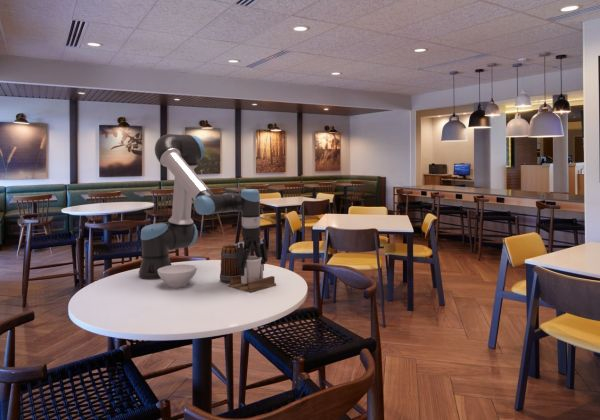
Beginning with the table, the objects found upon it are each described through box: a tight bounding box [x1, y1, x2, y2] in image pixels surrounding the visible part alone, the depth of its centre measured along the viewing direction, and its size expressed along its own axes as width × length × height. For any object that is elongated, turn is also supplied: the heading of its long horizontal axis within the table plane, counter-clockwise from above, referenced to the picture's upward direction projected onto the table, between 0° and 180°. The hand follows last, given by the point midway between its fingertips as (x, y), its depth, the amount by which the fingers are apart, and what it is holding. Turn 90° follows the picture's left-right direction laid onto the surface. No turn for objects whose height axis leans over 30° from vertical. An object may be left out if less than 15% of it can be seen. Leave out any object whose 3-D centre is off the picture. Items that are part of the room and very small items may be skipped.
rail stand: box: [228, 275, 277, 293], centre depth 183 cm, size 14×14×4 cm
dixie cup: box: [245, 255, 262, 283], centre depth 183 cm, size 8×8×10 cm
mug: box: [219, 243, 240, 284], centre depth 194 cm, size 16×11×15 cm
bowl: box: [157, 263, 197, 288], centre depth 186 cm, size 16×16×7 cm
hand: (252, 281), depth 183 cm, fingers closed on dixie cup, 8 cm apart
